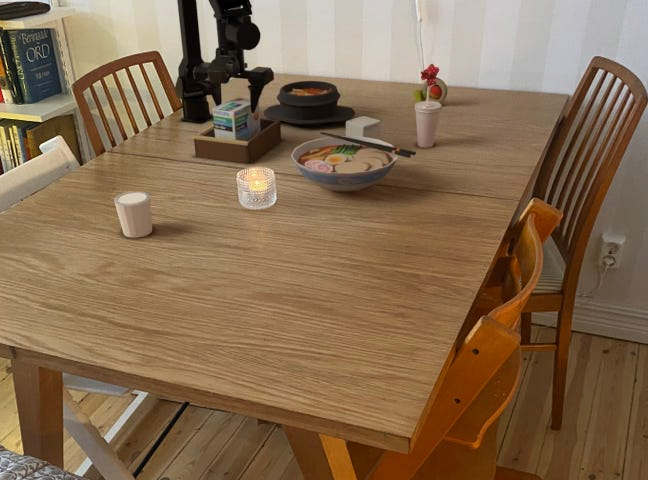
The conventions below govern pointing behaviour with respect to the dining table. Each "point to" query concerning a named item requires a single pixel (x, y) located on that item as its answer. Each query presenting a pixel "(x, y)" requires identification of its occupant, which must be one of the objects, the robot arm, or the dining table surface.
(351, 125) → the product box
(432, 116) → the smoothie
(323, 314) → the dining table surface
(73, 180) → the dining table surface
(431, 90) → the multicoloured rounded piece
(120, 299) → the dining table surface
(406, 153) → the ramen bowl
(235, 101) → the light bulb box
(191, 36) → the robot arm
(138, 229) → the shot glass
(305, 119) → the casserole
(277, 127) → the wooden box
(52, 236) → the dining table surface
